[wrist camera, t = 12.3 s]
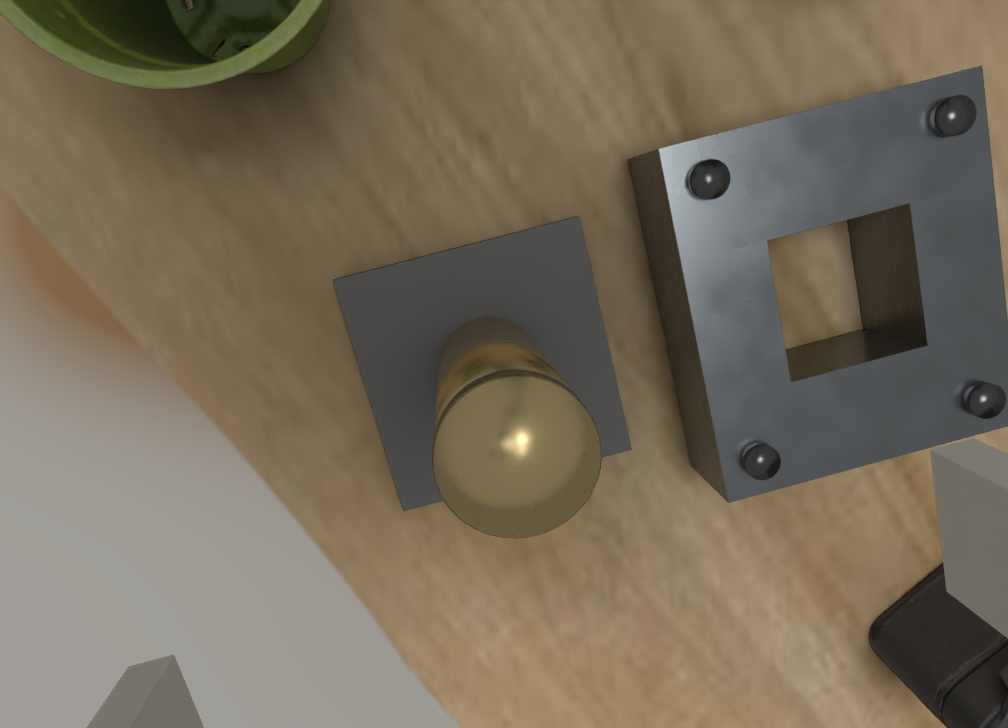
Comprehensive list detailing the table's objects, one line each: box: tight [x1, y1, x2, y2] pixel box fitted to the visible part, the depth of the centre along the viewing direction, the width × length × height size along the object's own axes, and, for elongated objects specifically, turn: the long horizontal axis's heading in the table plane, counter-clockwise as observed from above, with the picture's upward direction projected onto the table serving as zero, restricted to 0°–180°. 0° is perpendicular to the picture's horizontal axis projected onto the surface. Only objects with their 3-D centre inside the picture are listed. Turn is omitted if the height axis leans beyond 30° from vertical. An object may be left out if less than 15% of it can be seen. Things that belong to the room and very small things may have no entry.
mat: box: [333, 216, 631, 511], centre depth 35 cm, size 12×12×1 cm
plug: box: [432, 317, 602, 538], centre depth 28 cm, size 5×5×14 cm
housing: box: [628, 66, 1008, 503], centre depth 33 cm, size 16×14×6 cm
